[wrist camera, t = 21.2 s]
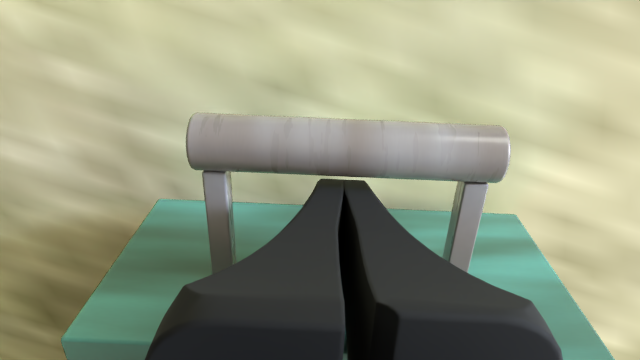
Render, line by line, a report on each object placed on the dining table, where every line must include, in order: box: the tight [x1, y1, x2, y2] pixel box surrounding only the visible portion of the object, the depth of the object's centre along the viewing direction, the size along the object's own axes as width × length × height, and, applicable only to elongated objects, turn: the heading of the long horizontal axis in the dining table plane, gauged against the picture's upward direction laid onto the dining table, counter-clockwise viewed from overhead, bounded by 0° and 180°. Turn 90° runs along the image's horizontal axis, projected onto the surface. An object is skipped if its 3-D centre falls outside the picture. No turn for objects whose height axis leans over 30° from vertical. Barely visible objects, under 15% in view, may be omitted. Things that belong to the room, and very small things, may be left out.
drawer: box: [61, 113, 615, 360], centre depth 15 cm, size 17×13×7 cm
